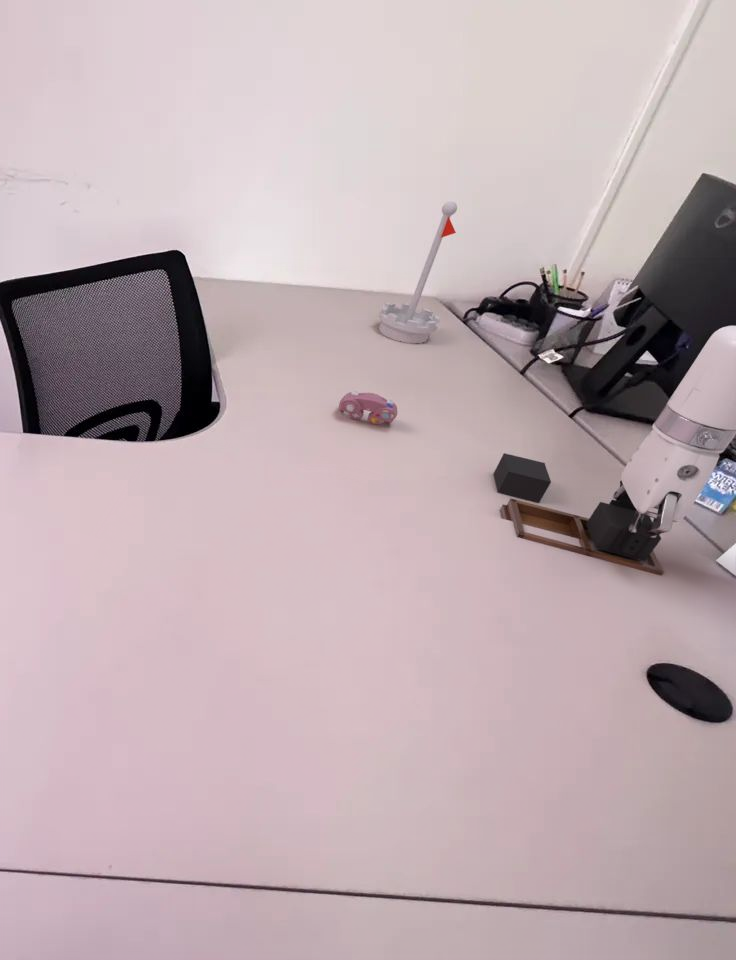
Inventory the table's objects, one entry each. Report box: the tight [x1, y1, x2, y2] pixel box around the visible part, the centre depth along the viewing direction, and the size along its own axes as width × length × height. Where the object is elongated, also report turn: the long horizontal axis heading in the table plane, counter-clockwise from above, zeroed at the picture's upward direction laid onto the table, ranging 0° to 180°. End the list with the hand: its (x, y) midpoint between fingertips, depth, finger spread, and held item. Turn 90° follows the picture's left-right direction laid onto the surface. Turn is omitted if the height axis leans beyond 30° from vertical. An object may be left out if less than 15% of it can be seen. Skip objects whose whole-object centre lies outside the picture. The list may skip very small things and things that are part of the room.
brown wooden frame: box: [499, 498, 665, 576], centre depth 95 cm, size 18×10×2 cm, turn 69°
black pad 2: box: [586, 501, 662, 562], centre depth 92 cm, size 6×6×4 cm
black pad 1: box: [493, 452, 552, 504], centre depth 106 cm, size 6×6×4 cm
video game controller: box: [338, 390, 398, 425], centre depth 120 cm, size 10×5×7 cm, turn 68°
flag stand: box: [378, 200, 458, 345], centre depth 152 cm, size 13×13×30 cm
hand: (616, 538), depth 93 cm, fingers closed on black pad 2, 6 cm apart
